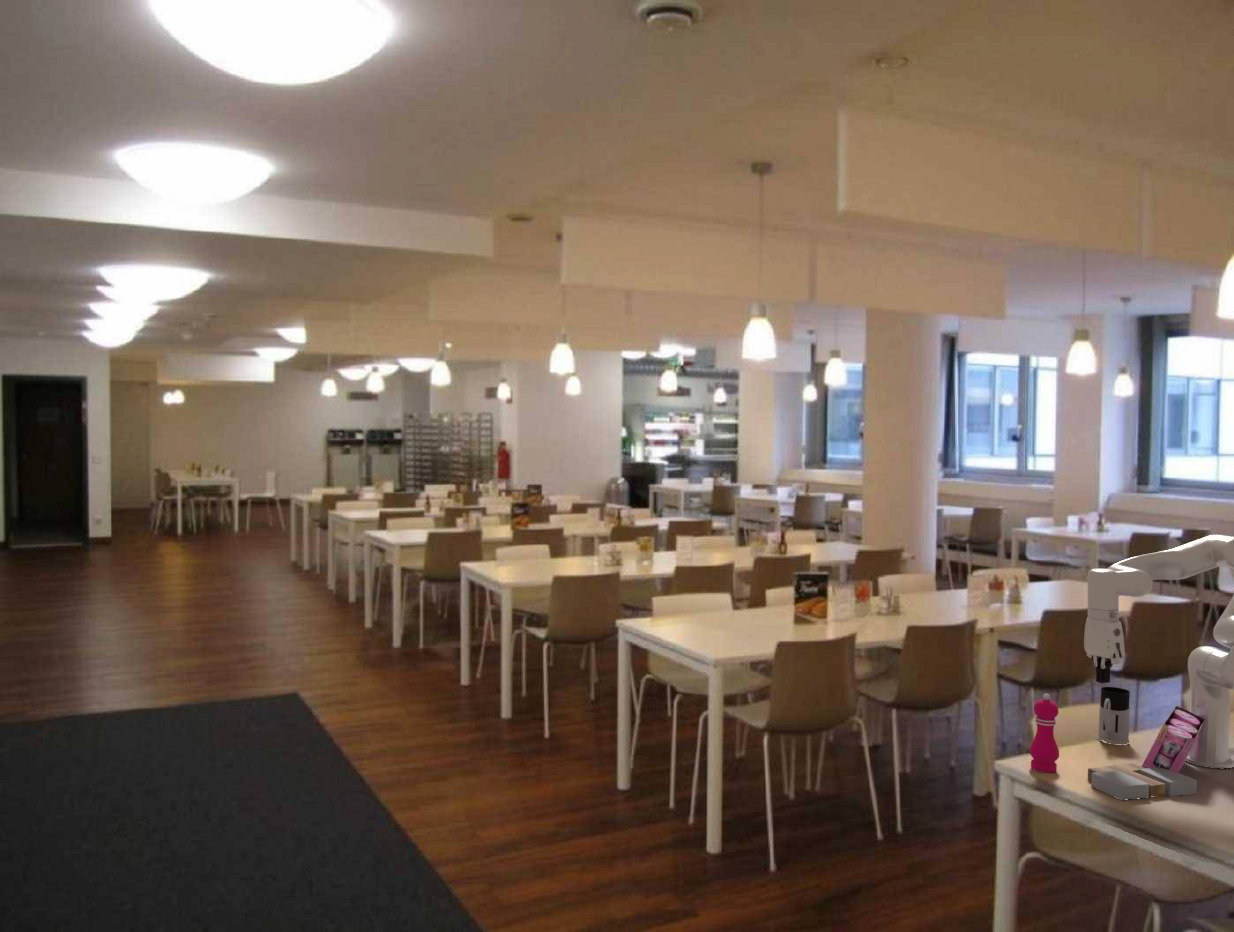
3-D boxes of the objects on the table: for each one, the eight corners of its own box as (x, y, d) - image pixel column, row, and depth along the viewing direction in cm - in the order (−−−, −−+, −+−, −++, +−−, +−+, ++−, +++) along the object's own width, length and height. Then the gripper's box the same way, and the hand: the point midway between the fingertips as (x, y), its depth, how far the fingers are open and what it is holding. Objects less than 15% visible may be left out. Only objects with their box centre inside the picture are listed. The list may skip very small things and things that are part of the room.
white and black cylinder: (1133, 741, 288) (1135, 690, 287) (1119, 751, 277) (1122, 698, 277) (1101, 734, 294) (1103, 684, 293) (1086, 744, 283) (1088, 693, 283)
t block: (1132, 774, 258) (1132, 763, 258) (1180, 794, 244) (1181, 782, 244) (1087, 780, 253) (1088, 768, 252) (1134, 800, 239) (1135, 787, 239)
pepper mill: (1061, 774, 256) (1064, 698, 255) (1031, 772, 257) (1035, 696, 257) (1054, 766, 263) (1058, 691, 262) (1026, 763, 264) (1029, 689, 264)
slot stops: (1163, 780, 254) (1164, 767, 253) (1196, 794, 244) (1196, 780, 244) (1091, 786, 247) (1091, 772, 247) (1121, 800, 238) (1122, 786, 238)
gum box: (1171, 787, 250) (1194, 741, 247) (1138, 769, 254) (1161, 724, 251) (1184, 762, 269) (1206, 719, 266) (1154, 746, 273) (1175, 704, 270)
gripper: (1136, 618, 260) (1136, 687, 261) (1093, 609, 274) (1093, 674, 275) (1113, 620, 258) (1113, 690, 258) (1071, 611, 272) (1071, 677, 273)
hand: (1103, 682), depth 267 cm, fingers closed
